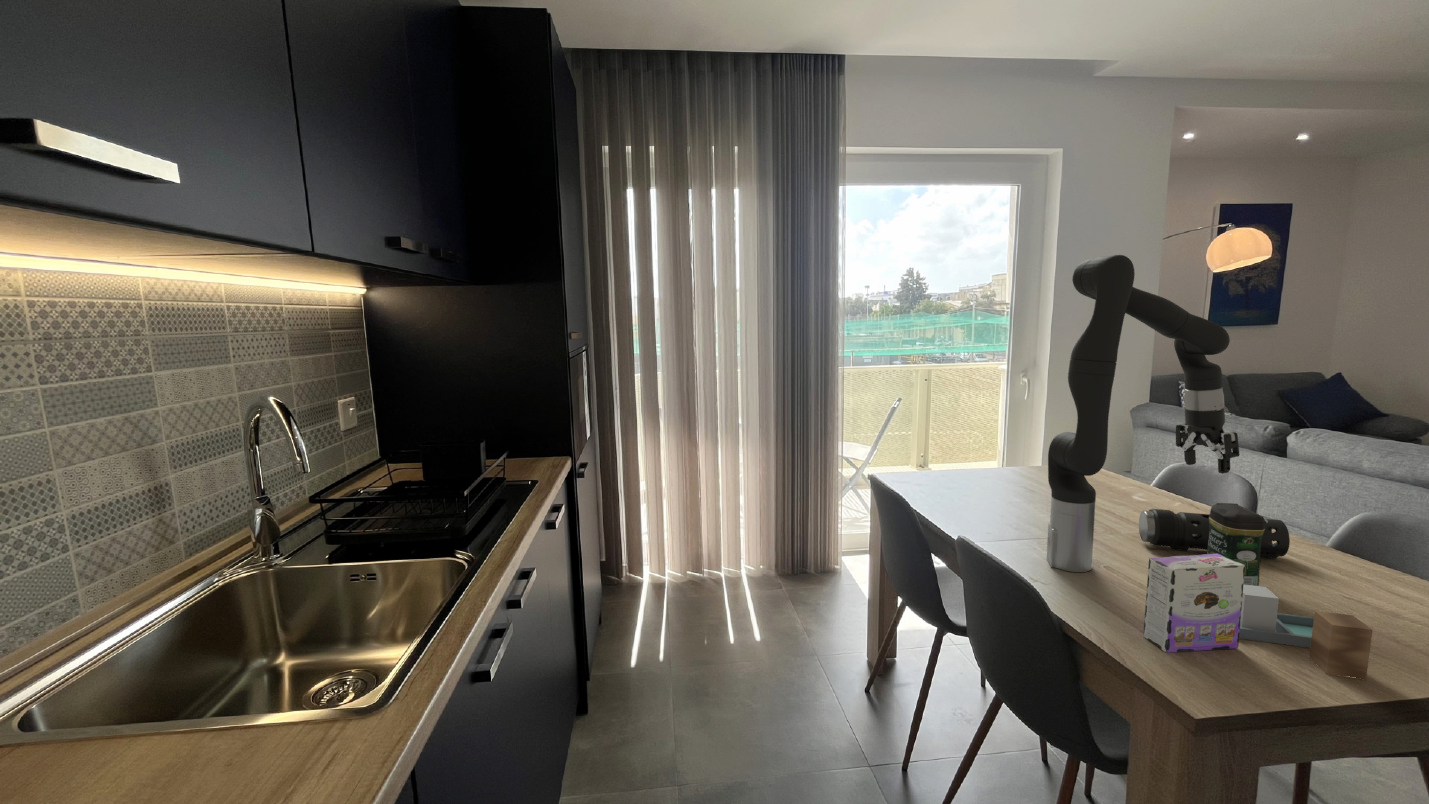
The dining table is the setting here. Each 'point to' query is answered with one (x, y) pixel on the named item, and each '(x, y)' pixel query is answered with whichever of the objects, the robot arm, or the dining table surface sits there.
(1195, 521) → the muzzle brake
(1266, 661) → the dining table surface
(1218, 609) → the candy box
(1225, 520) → the coffee jar
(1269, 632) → the divider rack
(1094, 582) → the dining table surface
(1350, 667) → the walnut plug
